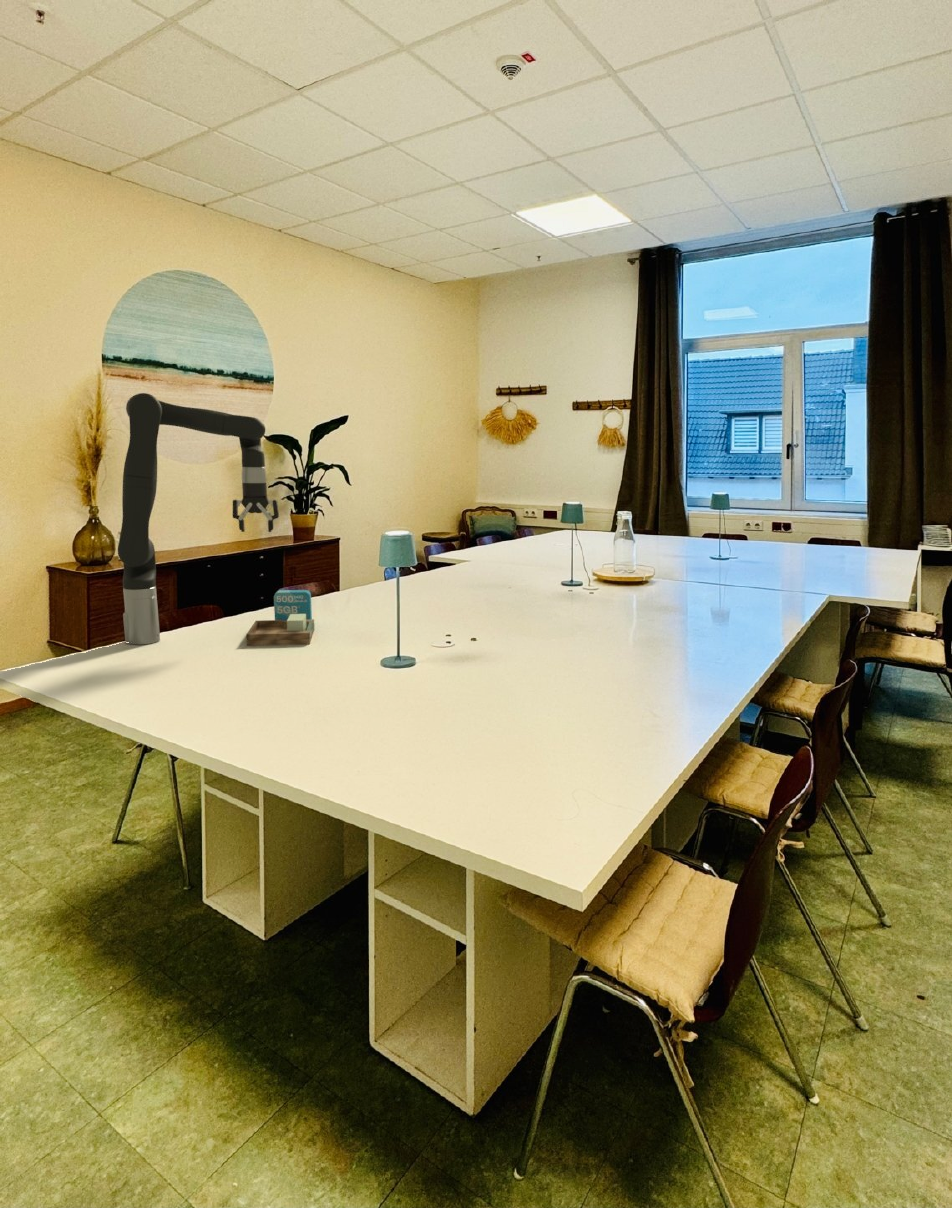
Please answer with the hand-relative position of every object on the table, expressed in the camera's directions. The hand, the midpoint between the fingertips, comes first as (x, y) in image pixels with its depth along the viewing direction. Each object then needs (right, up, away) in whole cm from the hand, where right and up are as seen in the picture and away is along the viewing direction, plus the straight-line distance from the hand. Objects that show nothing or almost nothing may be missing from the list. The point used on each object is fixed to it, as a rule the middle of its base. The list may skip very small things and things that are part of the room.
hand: (256, 531), depth 237 cm
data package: (+9, -31, +14) cm, 35 cm away
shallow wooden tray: (+9, -34, -3) cm, 36 cm away
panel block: (+14, -33, -3) cm, 36 cm away
